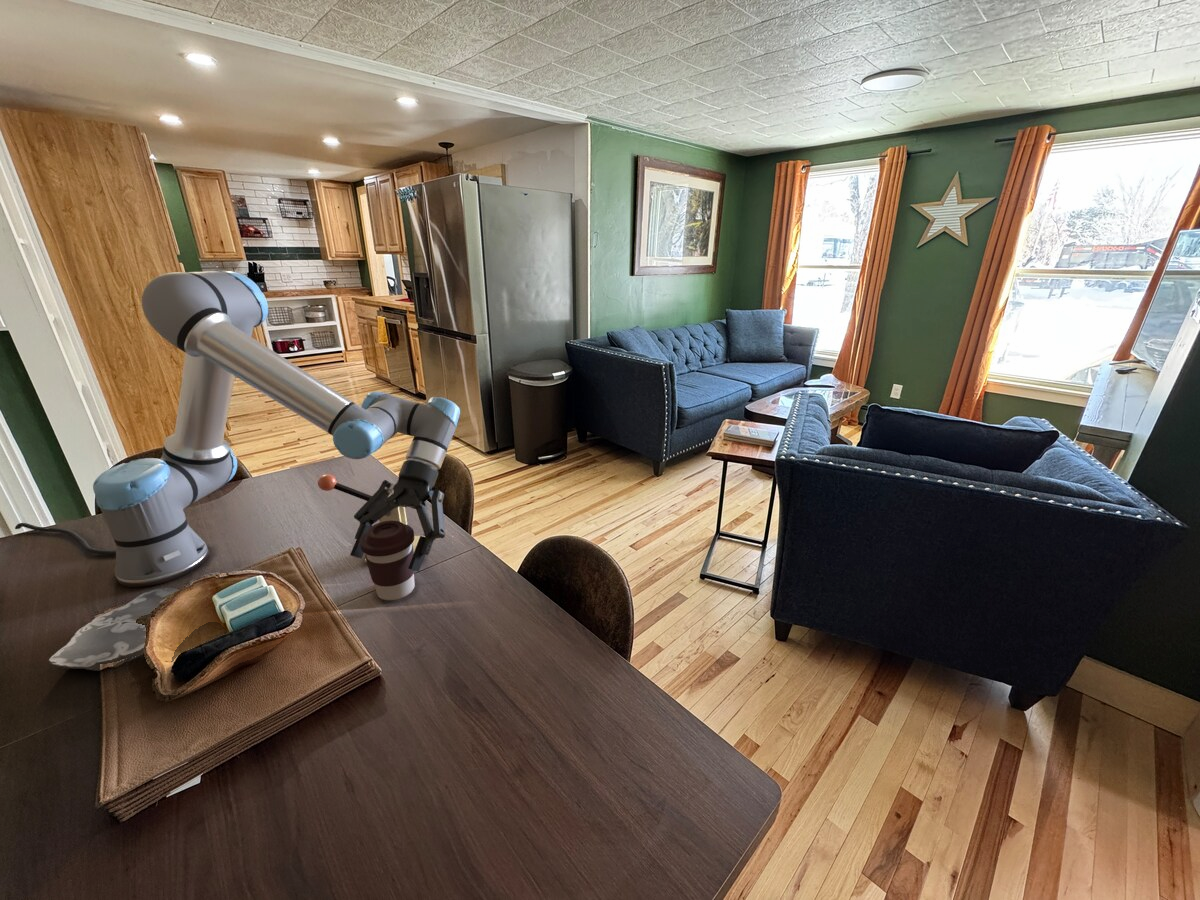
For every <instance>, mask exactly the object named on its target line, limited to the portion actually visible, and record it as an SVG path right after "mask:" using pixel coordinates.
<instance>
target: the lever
mask: <svg viewBox="0 0 1200 900" xmlns="http://www.w3.org/2000/svg"><path fill="white" fill-rule="evenodd" d="M317 486H318V488H319V489H320V490H321V491H326V492H330V491H332V490H337V491H339V492H342V493H344V494H348V495H350V496H353V497H355V498H358V499H361V500H364V501H366V502H367V501H368V500H369V499H370V498H371V497H372V496H373V495H371V494H368V493H365V492H362V491H360V490H357V489H354V488H352V487H349V486H346V485H344V484H342V483H340V482H338V481H337V478H336V476H334V475H333V474H329V473H327V474H322V475H321V476H320V477H319V478H318V480H317ZM383 502H384V501H383Z"/></svg>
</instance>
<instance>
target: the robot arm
mask: <svg viewBox="0 0 1200 900" xmlns="http://www.w3.org/2000/svg"><path fill="white" fill-rule="evenodd" d="M141 307H142V311H143V313H144V316H145V319H146V321H148V323H149V325H150V326H151V327H152V328H153V329H154V330H155V332H156V333H157V334H159V336H160V337H162V338H163V339H164V340H165V341H167V342H168V343H169V344H171V345H173V346H174V347H175V348H177V349H178V350H180V351H182V352H183V353H185V357H184V363H183V370H182V377H181V384H180V392H179V400H178V405H177V406H178V407H177V413H176V420H175V421H176V422H175V427H174V433H172V434H171V435H168V436H167V437H166V438H165V439H164V441H163V448H162V454H161V457H160V458H154V457H145V458H139V459H138V458H137V459H133V460H130V461H129V462H127V463H126V462H122V463H120V464H117V465H114V466H112V467H111V468H109V469H107V470H105V471H104V472H102V473H101V474H99V475H98V476H97V477H96V478H95V480H94V482H93V484H92V490H93V493H94V496H95V502H96V505H97V506H98V508H99V509H100V512H101V513H102V515H103V518H104V520H105V522H106V524H107V527H108V530H109V532H110V534H111V536H112V538H113V541H114V543H115V546H116V550H108V549H107V550H106V549H98V548H94V547H92V546H91V545H89V543H88V542H87V541H86V539H85V538H83V537H82V536H80V534H79V533H77V532H75V531H74V530H69V529H66V528H61V527H60V528H59V527H45V526H37V525H34V524H31V523H27V522H20V523H17V524H16V525H15V527H14V529H15V530H20V529H21V528H26V529H29V530H33V531H37V530H39V531H38V532H48V533H49V532H51V533H62V534H66V535H68V536H70V537H72V538H73V539H75V540H76V541H77V542H79V543H80V545H81V546H82V548H83V549H84V550H85V551H87V552H89V553H92V554H97V555H107V556H109V555H110V556H111V555H112V556H115V563H114V575H115V576H114V577H116V580H117V583H118V584H120V586H123V587H126V588H147V587H151V586H156V585H161V584H164V583H167V582H171V581H173V580H176V579H178V578H181V577H183V576H186V575H187V574H190V573H191V572H193V571H195V570H196V569H198V568H199V567H201V566H202V565H203V564H204V563H205V562H206V561H207V560H208V558H209V557H210V551H209V548H208V545H207V543H206V542H205V541H204V540H203V539H202V538H201V537H200V536H199V535H198V534H197V533H196V532H195V530H193V528H192V527H191V526H190V525H189V523H188V519H187V517H186V514H185V512H184V511H185V510H184V509H186V508H187V507H189V506H190V505H192V504H194V503H196V502H198V501H199V500H201V499H203V498H204V497H206V496H208V495H210V494H212V493H213V492H215V491H218V490H219V489H222V487H224V486H226V484H227V483H229V482H230V481H231V480H232V479H233V478H234V476H235V475H236V473H237V470H238V458H237V456H236V455H234V451H233V449H232V448H231V445H230V443H229V442H228V441H227V440H226V439H225V432H226V427H227V423H228V422H227V421H228V418H229V417H228V416H229V412H230V411H229V410H230V405H231V400H232V396H233V389H234V385H235V379H236V378H237V379H239V380H240V381H243V382H244V383H246V384H247V385H249V386H250V387H252V388H254V389H256V390H257V391H259V392H260V393H262V394H264V395H265V396H267V397H268V398H270V399H272V400H273V401H275V402H276V403H278V404H279V405H282V406H283V407H285V408H287V409H288V410H290V411H292V412H293V413H295V414H296V415H298V416H299V417H301V418H303V419H305V420H306V421H308V422H310V423H311V424H312V425H314V426H316V427H318V428H319V429H321V430H323V431H324V432H325V433H327V434H329V435H331V436H332V441H333V446H334V447H335V448H336V450H337V451H338V453H339V454H341V456H343V457H345V458H348V459H351V460H362V459H365V458H367V457H369V456H370V455H372V454H374V453H376V452H377V451H378V450H380V449H381V448H382V446H384V444H385V443H387V442H388V441H389V440H391V439H392V438H393V437H394V436H395V435H397V434H398V433H399V434H402V435H406V436H410V437H412V441H411V443H410V445H409V448H408V450H407V452H406V454H405V460H404V461H403V463H402V465H401V467H400V469H399V472H398V479H397V481H396V483H392V482H390V481H388V480H387V479H384V480H383V481H382V482H381V484H380V486H379V488H378V489H377V490H376V492H375V493H374V494H373V495H371V496H372V497H371V498H370V499H369V500H368V501H366V502H365V503H364V504H363V505H362V506H361V507H360V508H359V509H358V511H357V512H356V513H354V515H353V519H355V520H357V521H358V522H359V525H358V528H357V531H356V533H355V535H354V539H355V541H354V545H353V546H352V549H351V552H350V554H349V555H350V556H351V557H354V558H358V559H362V558H363V556H364V554H365V553H363V552H362V550H361V548H360V538H361V537H362V535H363V534H364V533H366V532H367V531H368V530H369V528H371V527H372V526H373V525H375V524H376V523H377V522H379V519H381V518H382V517H383V516H385V515H386V514H387V513H389V512H390V511H391V510H393V509H394V508H397V507H399V506H402V507H405V508H411V509H412V510H415V511H416V513H417V516H418V519H419V523H420V525H421V528H422V532H423V534H422V535H419V536H420V538H419V541H418V543H417V546H416V549H415V551H414V554H413V557H412V560H411V562H410V565H409V568H408V569H411V570H414V572H420V569H421V566H422V564H423V562H424V558H425V556H428V555H429V554H430V552H431V549H432V546H433V544H434V541H435V540H436V539H444V538H445V537H446V528H445V518H444V508H443V502H444V499H445V493H444V492H442V491H441V490H439V489H437V488H436V489H432V488H434V487H435V485H436V482H437V479H438V477H439V470H441V468H442V465H443V463H444V460H445V457H446V455H447V452H448V450H449V448H450V447H449V446H450V444H451V441H452V439H453V437H454V434H455V432H456V430H457V425H458V421H459V418H460V415H461V409H460V407H459V406H458V405H457V404H456V403H455V402H454V401H452V400H450V399H448V398H445V397H440V396H439V397H438V396H432V397H430V398H429V399H428V401H427V402H426V403H425V404H424V403H419V402H416V401H412V400H409V399H406V398H402V397H399V396H396V395H392V394H391V393H386V392H385V393H384V392H380V391H371V392H369V393H367V395H365V396H366V397H364V398H363V401H362V403H361V406H360V405H359V404H357V403H355V402H354V401H352V400H350V399H349V398H347V397H346V396H344V395H343V394H342V393H339V391H337V390H335V389H333V388H332V387H330V386H328V384H326V383H324V382H322V381H321V380H320V379H318V378H317V377H314V376H313V375H311V374H310V373H308V372H307V371H305V370H303V369H302V368H300V367H299V366H298V365H296V364H294V363H293V362H291V361H290V360H288V359H286V358H285V357H283V356H282V355H280V354H279V353H277V352H276V351H274V350H273V349H271V348H269V347H268V346H267V345H265V344H263V343H262V342H260V341H259V340H257V339H255V338H254V337H252V336H253V331H254V329H255V328H258V327H260V325H262V324H263V323H264V322H265V321H266V320H267V318H268V315H269V305H268V301H267V299H266V295H265V294H264V293H263V292H262V290H261V288H260V287H259V285H258V284H257V283H256V282H255V281H254V280H252V279H251V278H250V277H248V276H246V275H244V274H242V273H239V272H236V271H230V270H228V271H227V270H220V269H215V270H210V271H175V272H174V271H173V272H167V273H163V274H161V275H158V276H156V277H155V278H152V279H151V280H150V281H149V282H148V284H147V285H146V286H145V288H144V290H143V292H142V296H141ZM389 495H390V496H389ZM388 496H389V497H388ZM387 497H388V498H387ZM386 498H387V499H386ZM385 499H386V501H384V500H385ZM429 499H430V500H431V502H430V503H431V516H432V520H431V517H430V513H429V509H428V505H427V501H428V500H429ZM395 500H396V501H395ZM383 501H384V502H383ZM44 528H49V529H44ZM423 536H425V537H423Z"/></svg>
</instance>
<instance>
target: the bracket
mask: <svg viewBox="0 0 1200 900" xmlns="http://www.w3.org/2000/svg"><path fill="white" fill-rule="evenodd" d="M390 495H391V494H390ZM390 495H389V496H390ZM389 496H388V497H389ZM388 497H387V498H388ZM387 498H386V499H387ZM386 499H385V500H384V501H386ZM395 501H396V500H395ZM407 518H408V517H407V512H406V507H402V506H399V507H397V508H394V509H393V510H391V511H390V512H389V513H387V514H386V515H385V516H383V517H382V518H381V519H379V520H378V523H380V522H384V521H399V522H401V523H403V524H406V525H408V519H407ZM420 536H421V535H414V537H415V538H414V541H413V543H412V545H413V550H414V551H415V549H416V546H417V543H418V541H419V538H420ZM422 536H423V537H425V536H424V535H422ZM364 562H365V563H367V562H366V558H365V559H364Z"/></svg>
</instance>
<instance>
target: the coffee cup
mask: <svg viewBox="0 0 1200 900" xmlns="http://www.w3.org/2000/svg"><path fill="white" fill-rule="evenodd" d="M414 536H415V531H414V529H413V527H411V526H410V525H409V524H407V525H406V524H403V523H401V522H399V521H384V522H378V523H377V522H376V523H374V524H372V527H371V528H369V530H368V531H367V532H366V533H364V534H363V535H362V537H361V538H360V548H361V550H362V552H363V553H364V554H365V555H364V557H365V559H366V562H365V563H366V566H367V568H368V572H369V575H370V579H371V581H372V583H373V585H374V588H375V592H376V595H377V597H378V598H379V599H381V600H384V601H395V600H399V599H403V598H404V597H406V596H408V595H410V594H411V593H412V592H413V591H414V589H415V586H416V585H415V584H416V583H415V571H414V570H411V569H408V568H409V565H410V562H411V560H412V557H413V554H414V550H413V545H412V543H413V541H414V538H415V537H414Z"/></svg>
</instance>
